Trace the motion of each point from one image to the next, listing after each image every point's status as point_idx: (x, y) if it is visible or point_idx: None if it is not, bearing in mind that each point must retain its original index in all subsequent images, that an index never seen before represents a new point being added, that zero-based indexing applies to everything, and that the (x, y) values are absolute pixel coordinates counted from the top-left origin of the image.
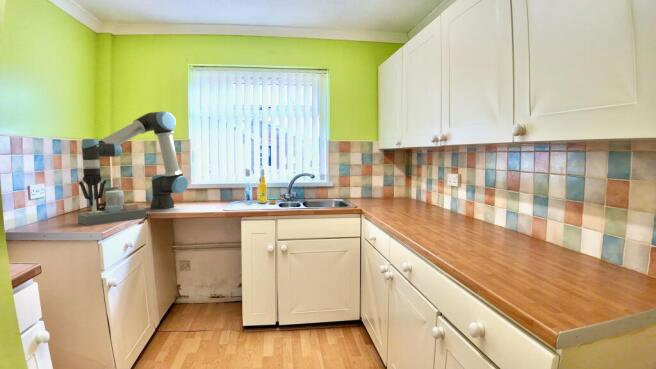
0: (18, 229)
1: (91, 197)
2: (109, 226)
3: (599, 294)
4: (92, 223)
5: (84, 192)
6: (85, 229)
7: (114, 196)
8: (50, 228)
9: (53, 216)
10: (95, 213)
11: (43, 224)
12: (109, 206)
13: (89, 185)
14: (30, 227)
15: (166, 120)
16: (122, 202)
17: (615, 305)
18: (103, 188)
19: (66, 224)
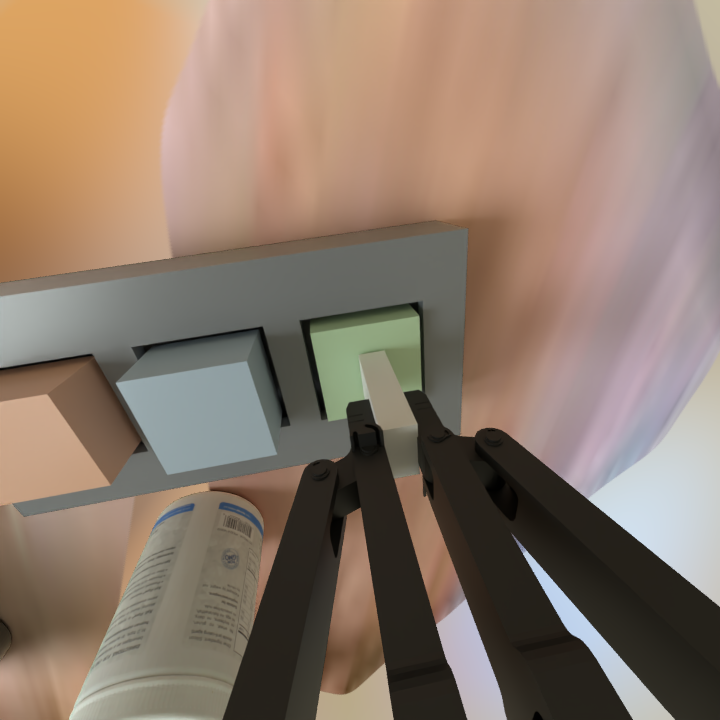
0: (678, 385)
1: (443, 449)
2: (291, 13)
3: None
4: (398, 228)
5: (589, 504)
6: (488, 31)
7: (165, 653)
8: (597, 305)
9: (459, 603)
10: (373, 320)
11: (559, 452)
12: (237, 415)
13: (612, 703)
14: (627, 406)
15: None
16: (127, 595)
17: None
18: (254, 640)
19: (495, 384)
